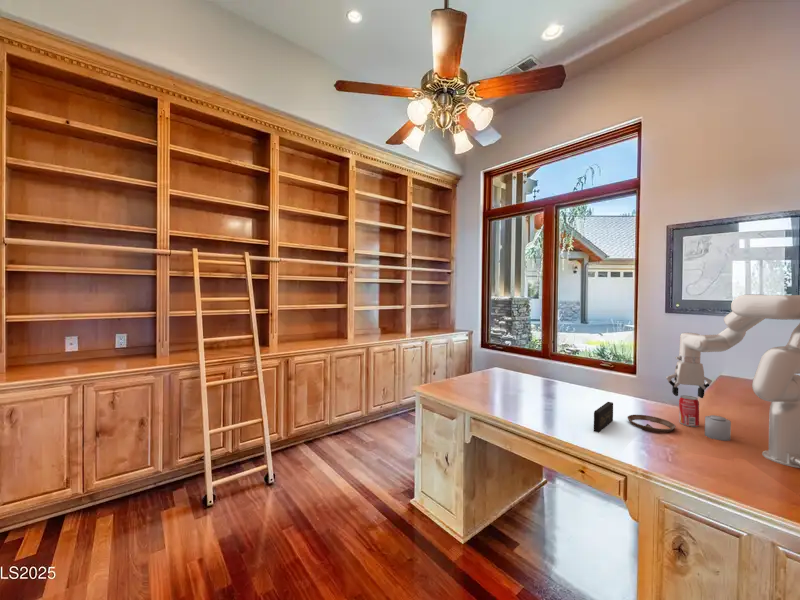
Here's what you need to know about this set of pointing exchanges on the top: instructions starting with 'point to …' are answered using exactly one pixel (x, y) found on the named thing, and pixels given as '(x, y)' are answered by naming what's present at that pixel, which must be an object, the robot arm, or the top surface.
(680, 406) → the soda can
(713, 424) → the grey ceramic cup
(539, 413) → the top surface
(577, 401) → the top surface
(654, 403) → the top surface
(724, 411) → the top surface
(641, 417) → the plant saucer
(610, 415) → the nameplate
